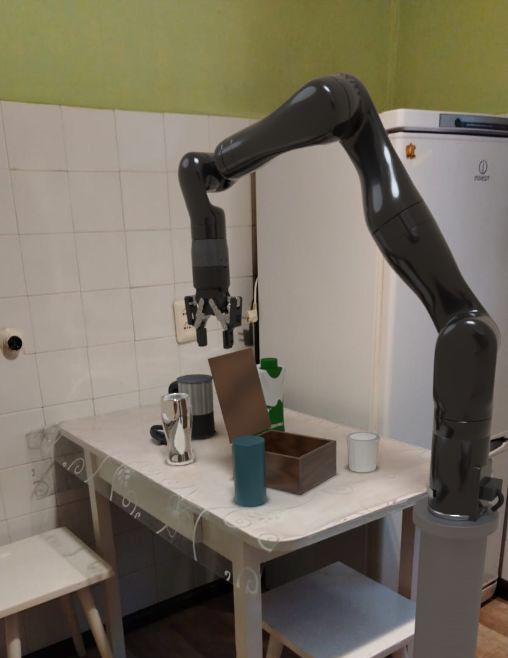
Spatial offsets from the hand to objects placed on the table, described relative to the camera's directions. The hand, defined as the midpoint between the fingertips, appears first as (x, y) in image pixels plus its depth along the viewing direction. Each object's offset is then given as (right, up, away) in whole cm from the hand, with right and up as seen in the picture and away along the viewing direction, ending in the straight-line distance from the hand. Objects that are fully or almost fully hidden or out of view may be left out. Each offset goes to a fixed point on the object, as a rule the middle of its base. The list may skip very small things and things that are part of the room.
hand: (215, 347), depth 134 cm
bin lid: (+6, -10, -1) cm, 12 cm away
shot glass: (+31, -25, +2) cm, 40 cm away
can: (+7, -32, -12) cm, 35 cm away
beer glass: (-8, -24, +12) cm, 28 cm away
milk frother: (-9, -17, +29) cm, 35 cm away
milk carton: (+11, -18, +24) cm, 32 cm away
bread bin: (+14, -27, -1) cm, 31 cm away
